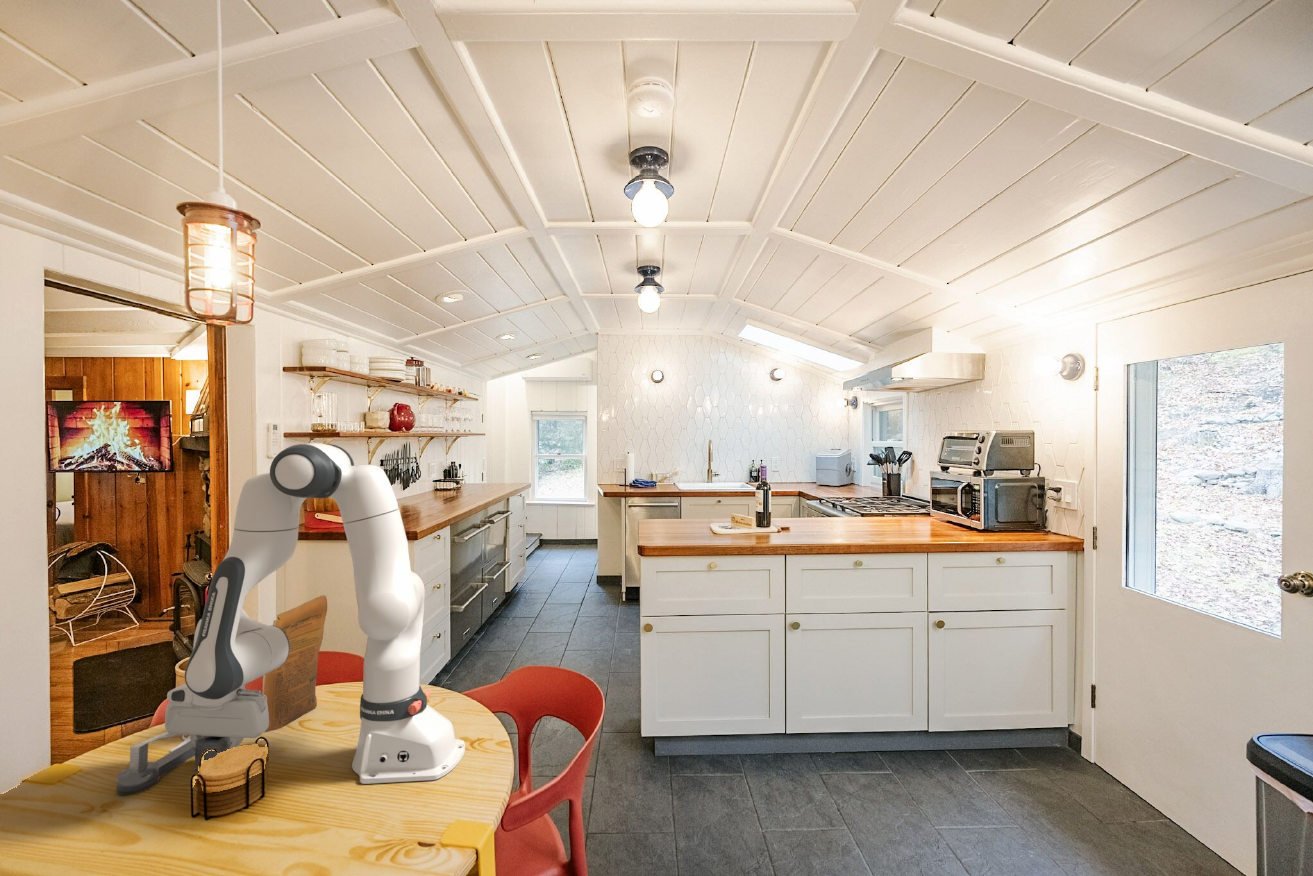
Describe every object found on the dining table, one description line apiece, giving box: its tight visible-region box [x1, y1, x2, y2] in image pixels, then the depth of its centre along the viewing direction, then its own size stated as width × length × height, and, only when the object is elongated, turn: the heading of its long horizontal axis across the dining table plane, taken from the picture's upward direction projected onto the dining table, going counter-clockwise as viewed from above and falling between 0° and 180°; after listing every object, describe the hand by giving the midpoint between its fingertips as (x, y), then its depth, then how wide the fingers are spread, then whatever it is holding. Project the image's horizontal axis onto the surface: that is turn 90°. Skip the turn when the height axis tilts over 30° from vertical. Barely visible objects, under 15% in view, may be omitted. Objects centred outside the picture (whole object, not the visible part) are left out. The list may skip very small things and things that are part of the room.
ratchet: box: [116, 736, 205, 797], centre depth 117 cm, size 6×24×8 cm, turn 176°
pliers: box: [143, 731, 191, 754], centre depth 128 cm, size 10×2×15 cm
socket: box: [194, 736, 232, 773], centre depth 116 cm, size 5×5×6 cm
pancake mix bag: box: [262, 594, 328, 733], centre depth 137 cm, size 7×19×28 cm, turn 169°
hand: (216, 755), depth 116 cm, fingers closed on socket, 5 cm apart
